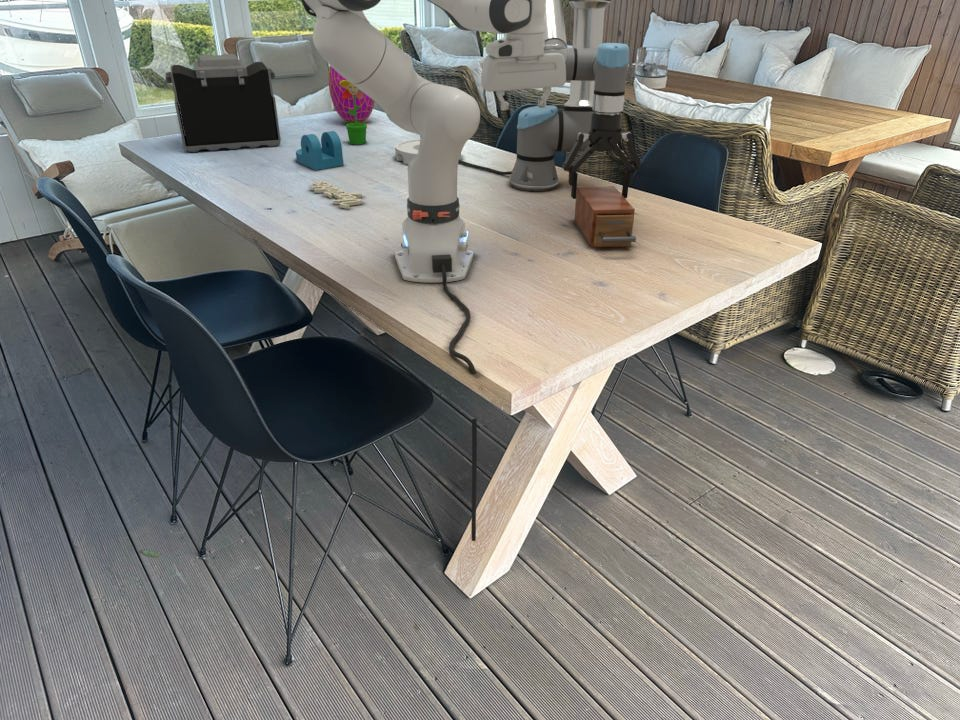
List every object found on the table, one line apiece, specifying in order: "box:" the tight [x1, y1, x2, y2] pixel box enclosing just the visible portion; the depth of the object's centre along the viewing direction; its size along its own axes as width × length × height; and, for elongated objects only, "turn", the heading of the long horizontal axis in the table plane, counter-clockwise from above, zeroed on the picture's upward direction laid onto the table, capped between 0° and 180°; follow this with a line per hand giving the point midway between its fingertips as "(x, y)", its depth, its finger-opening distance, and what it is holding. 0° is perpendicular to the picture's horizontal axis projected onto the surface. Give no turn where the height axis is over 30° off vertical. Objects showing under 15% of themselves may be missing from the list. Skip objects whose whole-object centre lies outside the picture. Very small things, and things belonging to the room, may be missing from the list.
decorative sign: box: [310, 180, 363, 210], centre depth 204 cm, size 26×1×10 cm
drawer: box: [594, 214, 637, 248], centre depth 172 cm, size 23×9×8 cm, turn 5°
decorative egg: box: [328, 65, 376, 124], centre depth 286 cm, size 19×19×30 cm
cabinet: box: [573, 185, 636, 248], centre depth 177 cm, size 20×10×10 cm, turn 5°
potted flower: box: [339, 80, 368, 145], centre depth 255 cm, size 9×8×25 cm
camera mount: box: [295, 130, 344, 171], centre depth 234 cm, size 18×10×10 cm, turn 39°
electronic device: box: [164, 53, 282, 153], centre depth 252 cm, size 37×22×30 cm, turn 111°
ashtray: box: [394, 138, 462, 166], centre depth 243 cm, size 23×23×4 cm
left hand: (523, 108), depth 164 cm, fingers open, 8 cm apart
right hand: (598, 197), depth 180 cm, fingers open, 13 cm apart
